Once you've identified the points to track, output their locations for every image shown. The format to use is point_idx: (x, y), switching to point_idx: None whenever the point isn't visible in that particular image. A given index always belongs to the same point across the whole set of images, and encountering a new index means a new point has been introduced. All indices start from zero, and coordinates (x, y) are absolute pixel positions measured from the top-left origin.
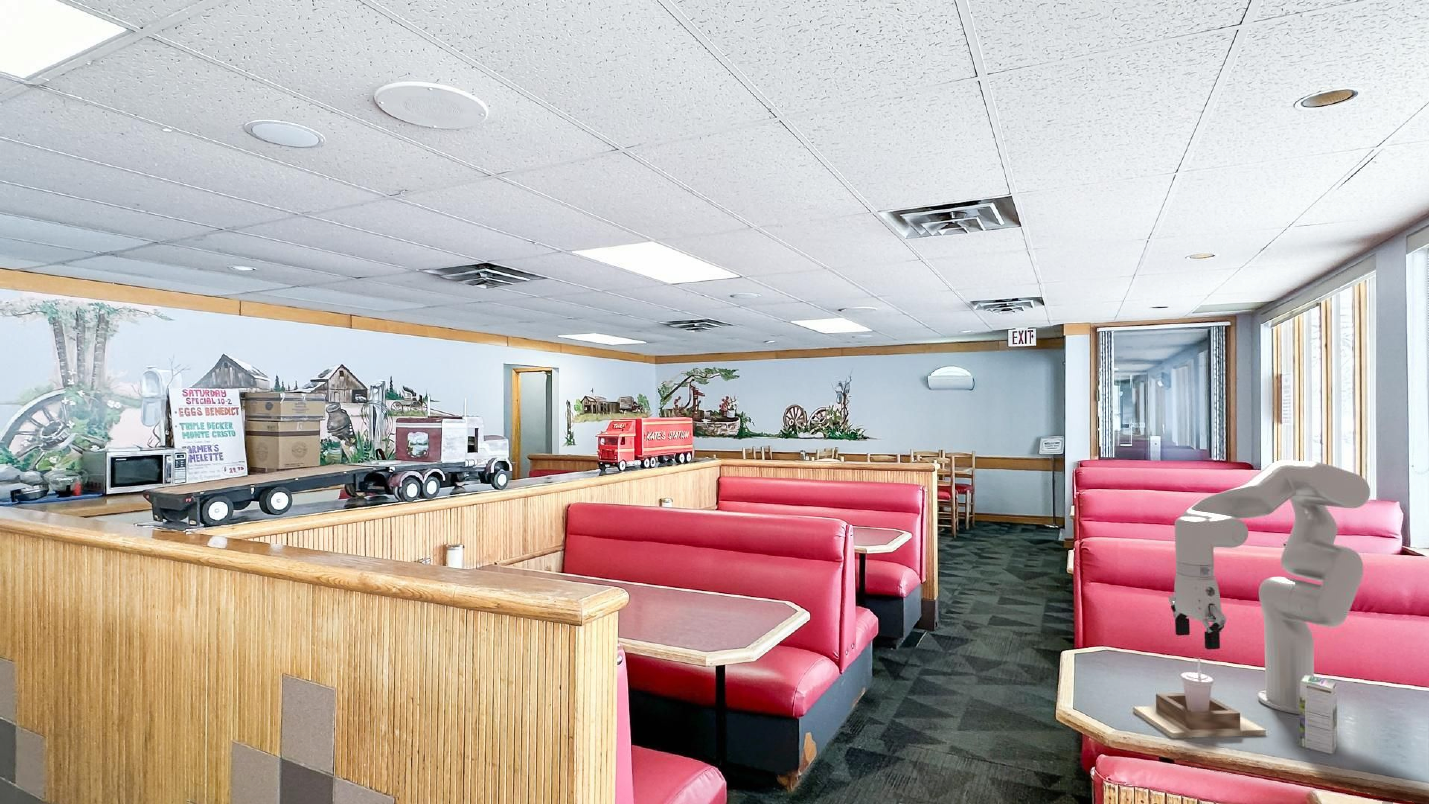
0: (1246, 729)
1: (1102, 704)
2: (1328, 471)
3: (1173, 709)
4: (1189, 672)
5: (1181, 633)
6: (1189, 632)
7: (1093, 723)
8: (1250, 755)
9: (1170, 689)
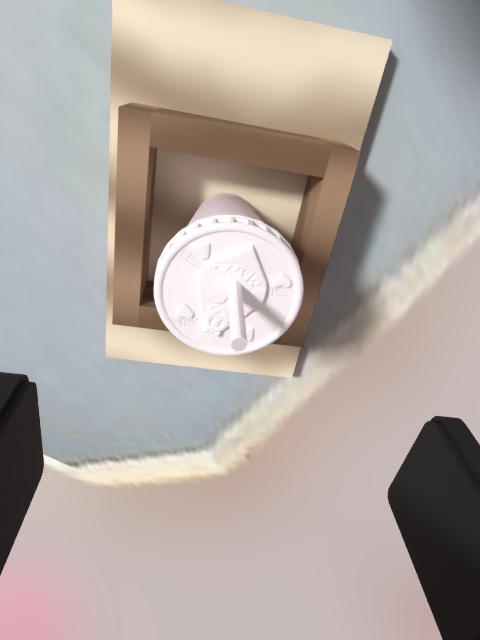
0: (359, 127)
1: (47, 390)
2: None
3: None
4: (160, 279)
5: (37, 461)
6: (26, 398)
7: (166, 472)
8: (448, 252)
9: None
